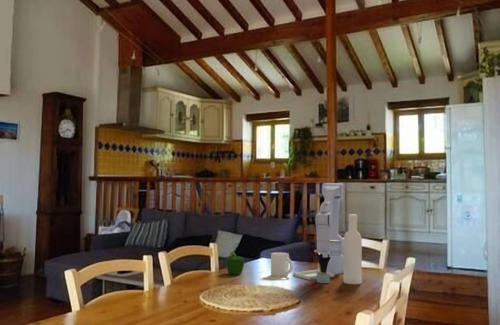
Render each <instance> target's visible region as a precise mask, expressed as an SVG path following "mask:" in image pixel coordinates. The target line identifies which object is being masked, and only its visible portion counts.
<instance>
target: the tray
mask: <svg viewBox="0 0 500 325" xmlns="http://www.w3.org/2000/svg"><path fill="white" fill-rule="evenodd" d="M317 273H320V269H312V270H311V269H310V270H305V271H298V272H296V271H295V272H293V277H296V278H299V279H304V280H308V281H313V280H317ZM327 273H329V274H330V278H333V277H335V275H336V274H335V273H331V272H327Z"/></svg>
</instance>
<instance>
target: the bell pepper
mask: <svg viewBox="0 0 500 325" xmlns="http://www.w3.org/2000/svg"><path fill="white" fill-rule="evenodd" d="M230 255H231V256H227V257H226V259H225V264H226V265H225V266H226V270H227V272H228V274H231V275H239V274H242V273H243V270H244V267H245V266H244V264H245V259H244V257H243V256H240V255H239V256H238V255H236V253H235V252H230Z"/></svg>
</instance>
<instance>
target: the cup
mask: <svg viewBox="0 0 500 325" xmlns="http://www.w3.org/2000/svg"><path fill="white" fill-rule="evenodd" d="M330 278H331V277H330V274H329V273H327V275H321V274H320V273H317V279H316V282H317V283H320V284H328V283H329V284H330V280H331V279H330Z"/></svg>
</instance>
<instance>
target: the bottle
mask: <svg viewBox="0 0 500 325" xmlns="http://www.w3.org/2000/svg"><path fill="white" fill-rule="evenodd" d="M347 218H348V230H347V231H346V232H345V234H344V236H343V239H344V253H343V255H344V273H343V276H342V277H343V278H342V279H343V283H344V284H347V285H362V281H363V278H362V277H363V275H362V268H363V265H362V262H363V260H362V259H363V258H362V255H363V254H362V253H363V252H362V251H363V248H362V247H363V245H362V244H363V242H362V241H363V238H362V235H361V233H360V232H359V231H358V215H357V214H356V213H355V214H354V213H353V214H352V213H349V214H348V217H347Z"/></svg>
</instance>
